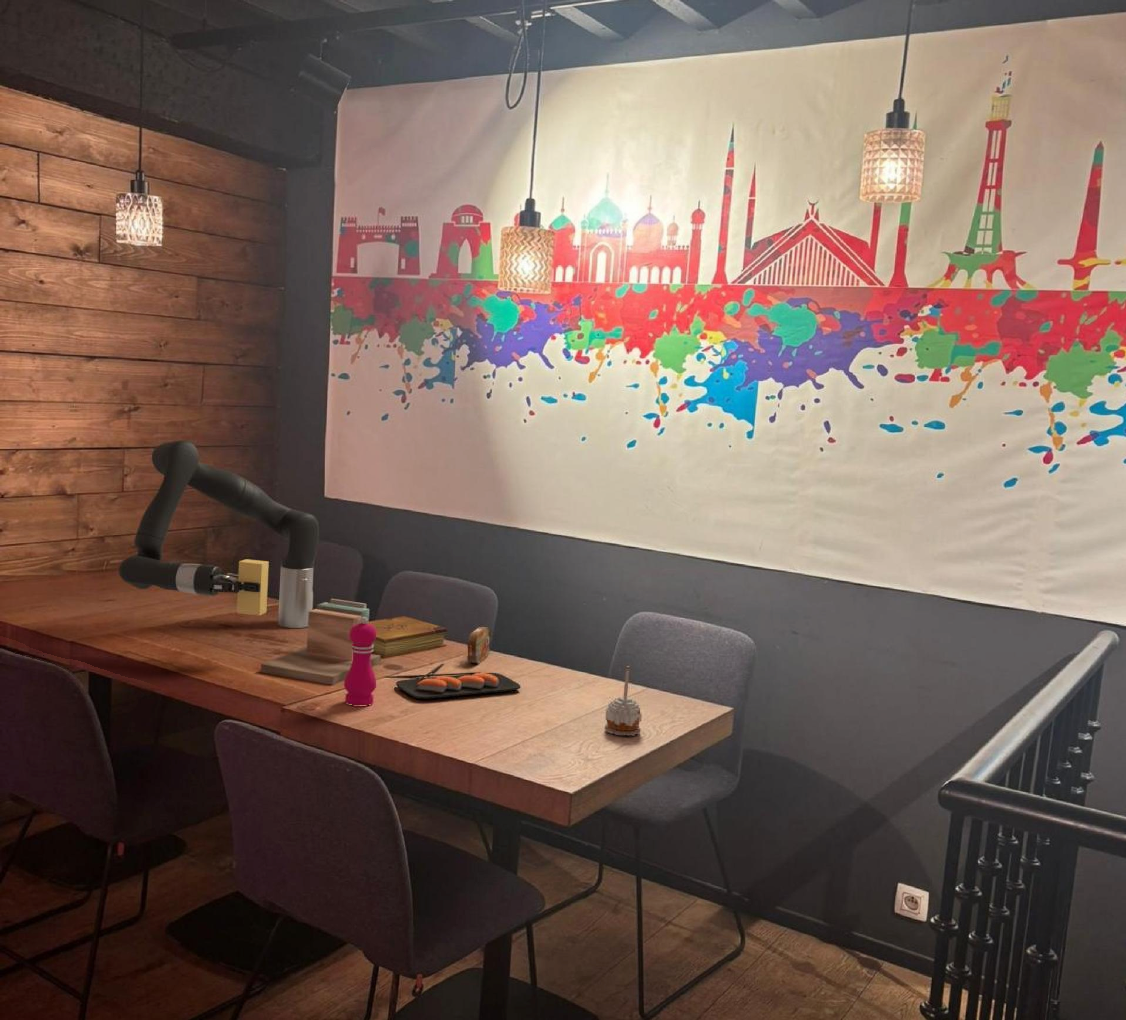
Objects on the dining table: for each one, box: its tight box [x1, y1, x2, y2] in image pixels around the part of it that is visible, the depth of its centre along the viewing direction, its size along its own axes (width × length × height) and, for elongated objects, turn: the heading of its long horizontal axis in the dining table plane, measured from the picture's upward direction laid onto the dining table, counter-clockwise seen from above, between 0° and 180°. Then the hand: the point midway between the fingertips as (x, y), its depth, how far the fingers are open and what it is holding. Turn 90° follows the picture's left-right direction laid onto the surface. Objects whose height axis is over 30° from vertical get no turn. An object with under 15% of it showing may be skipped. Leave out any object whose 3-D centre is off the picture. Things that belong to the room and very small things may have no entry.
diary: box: [369, 615, 448, 659], centre depth 301 cm, size 23×19×6 cm
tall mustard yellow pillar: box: [236, 558, 270, 616], centre depth 271 cm, size 4×6×13 cm, turn 81°
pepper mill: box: [343, 617, 377, 706], centre depth 246 cm, size 7×7×20 cm
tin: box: [467, 626, 492, 665], centre depth 292 cm, size 15×3×8 cm, turn 168°
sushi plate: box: [385, 663, 521, 699], centre depth 270 cm, size 29×30×4 cm
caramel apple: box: [604, 665, 642, 736], centre depth 240 cm, size 8×8×15 cm
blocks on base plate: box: [260, 598, 382, 686], centre depth 273 cm, size 24×20×15 cm
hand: (263, 586), depth 270 cm, fingers closed on tall mustard yellow pillar, 4 cm apart
